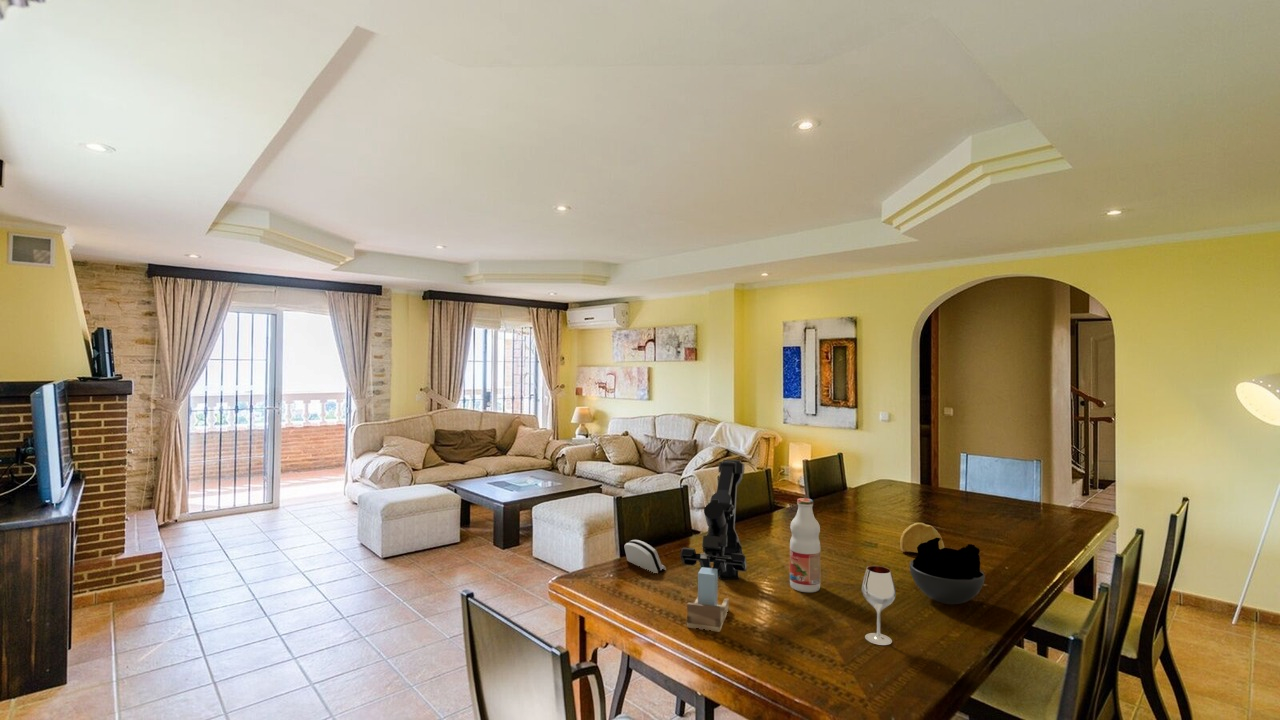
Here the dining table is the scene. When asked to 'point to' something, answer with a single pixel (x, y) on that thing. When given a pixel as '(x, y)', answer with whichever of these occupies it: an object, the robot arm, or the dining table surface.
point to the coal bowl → (947, 572)
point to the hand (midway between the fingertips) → (709, 587)
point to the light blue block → (707, 586)
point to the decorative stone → (918, 537)
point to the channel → (707, 615)
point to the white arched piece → (643, 555)
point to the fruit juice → (805, 549)
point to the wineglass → (878, 597)
